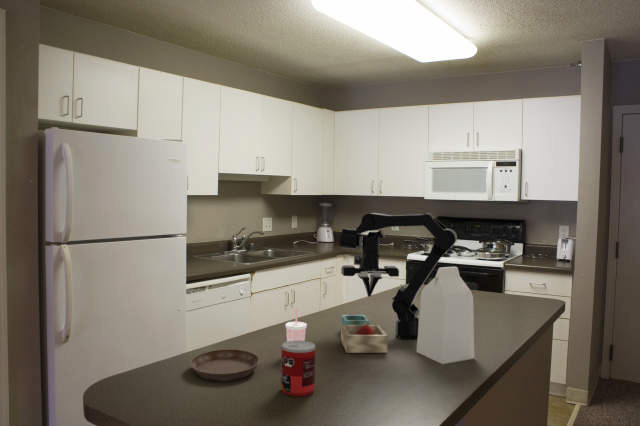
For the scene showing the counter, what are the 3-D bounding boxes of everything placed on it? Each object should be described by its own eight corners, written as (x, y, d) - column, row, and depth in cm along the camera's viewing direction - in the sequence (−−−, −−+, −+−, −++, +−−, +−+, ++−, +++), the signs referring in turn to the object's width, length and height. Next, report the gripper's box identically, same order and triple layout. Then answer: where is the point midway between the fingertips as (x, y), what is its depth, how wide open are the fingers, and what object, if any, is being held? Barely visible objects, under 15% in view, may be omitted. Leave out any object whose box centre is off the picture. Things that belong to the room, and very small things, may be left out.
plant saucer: (226, 390, 123) (226, 377, 123) (175, 373, 133) (175, 362, 133) (273, 369, 138) (273, 357, 138) (224, 355, 148) (224, 345, 148)
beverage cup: (309, 353, 151) (310, 305, 151) (301, 359, 145) (302, 310, 145) (289, 350, 153) (290, 303, 153) (281, 356, 147) (282, 308, 147)
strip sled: (369, 329, 178) (370, 314, 178) (386, 352, 153) (387, 335, 153) (335, 329, 177) (335, 314, 176) (346, 352, 152) (347, 335, 151)
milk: (442, 364, 145) (445, 271, 144) (416, 351, 155) (419, 265, 154) (474, 358, 151) (478, 269, 149) (447, 347, 161) (450, 263, 160)
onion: (372, 353, 153) (373, 326, 152) (353, 351, 154) (354, 324, 154) (376, 347, 158) (377, 321, 158) (358, 345, 160) (359, 319, 160)
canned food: (280, 384, 127) (281, 340, 126) (313, 384, 128) (314, 340, 127) (280, 397, 119) (281, 350, 119) (315, 397, 120) (316, 350, 119)
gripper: (392, 247, 184) (390, 291, 184) (339, 247, 182) (338, 291, 182) (400, 251, 173) (398, 298, 173) (344, 251, 171) (343, 298, 171)
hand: (369, 296), depth 175 cm, fingers closed
